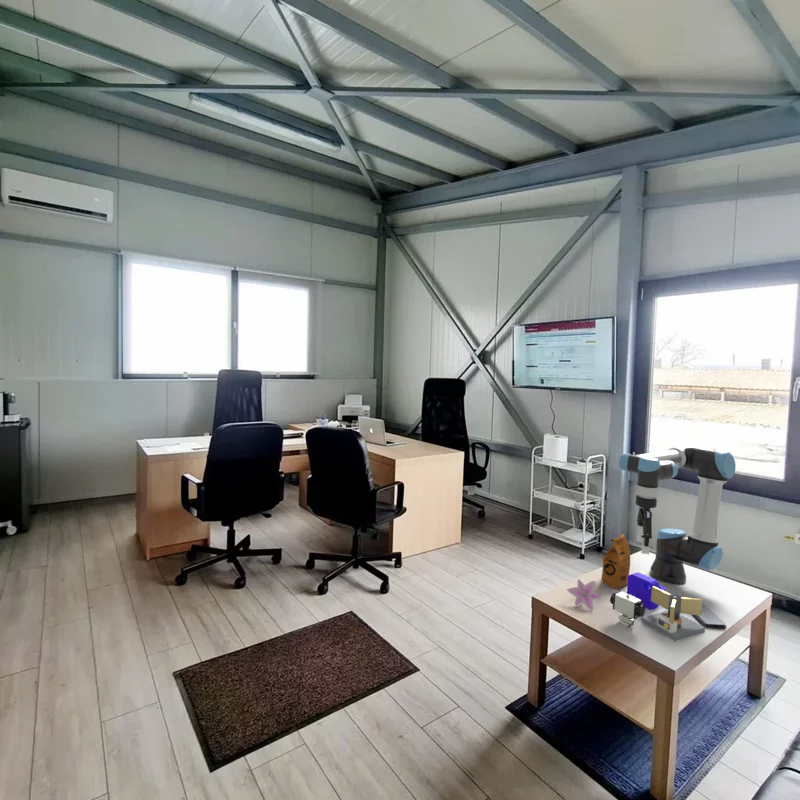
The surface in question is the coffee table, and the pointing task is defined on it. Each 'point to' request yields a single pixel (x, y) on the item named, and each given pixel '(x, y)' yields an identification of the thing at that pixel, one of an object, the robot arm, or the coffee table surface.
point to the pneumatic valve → (627, 607)
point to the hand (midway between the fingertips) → (642, 547)
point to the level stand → (673, 626)
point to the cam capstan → (676, 605)
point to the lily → (584, 594)
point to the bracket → (643, 589)
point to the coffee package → (616, 564)
